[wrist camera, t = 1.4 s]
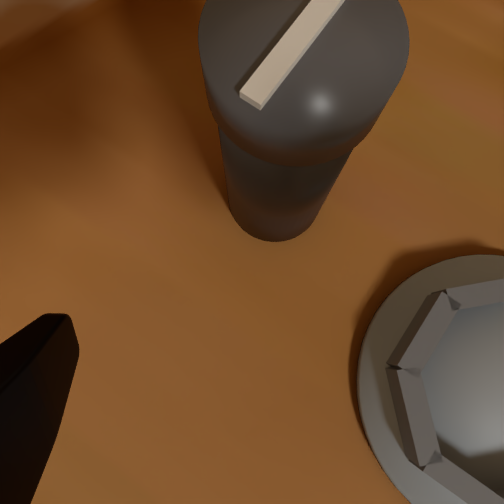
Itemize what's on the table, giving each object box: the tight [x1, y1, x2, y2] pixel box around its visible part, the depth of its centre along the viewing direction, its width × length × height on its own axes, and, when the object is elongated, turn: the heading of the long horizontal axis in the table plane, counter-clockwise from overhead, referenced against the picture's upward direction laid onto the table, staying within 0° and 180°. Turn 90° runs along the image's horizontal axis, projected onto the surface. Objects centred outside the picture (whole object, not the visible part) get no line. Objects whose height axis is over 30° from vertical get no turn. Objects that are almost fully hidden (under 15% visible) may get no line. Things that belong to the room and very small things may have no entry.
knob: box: [198, 0, 409, 242], centre depth 16 cm, size 5×5×12 cm
